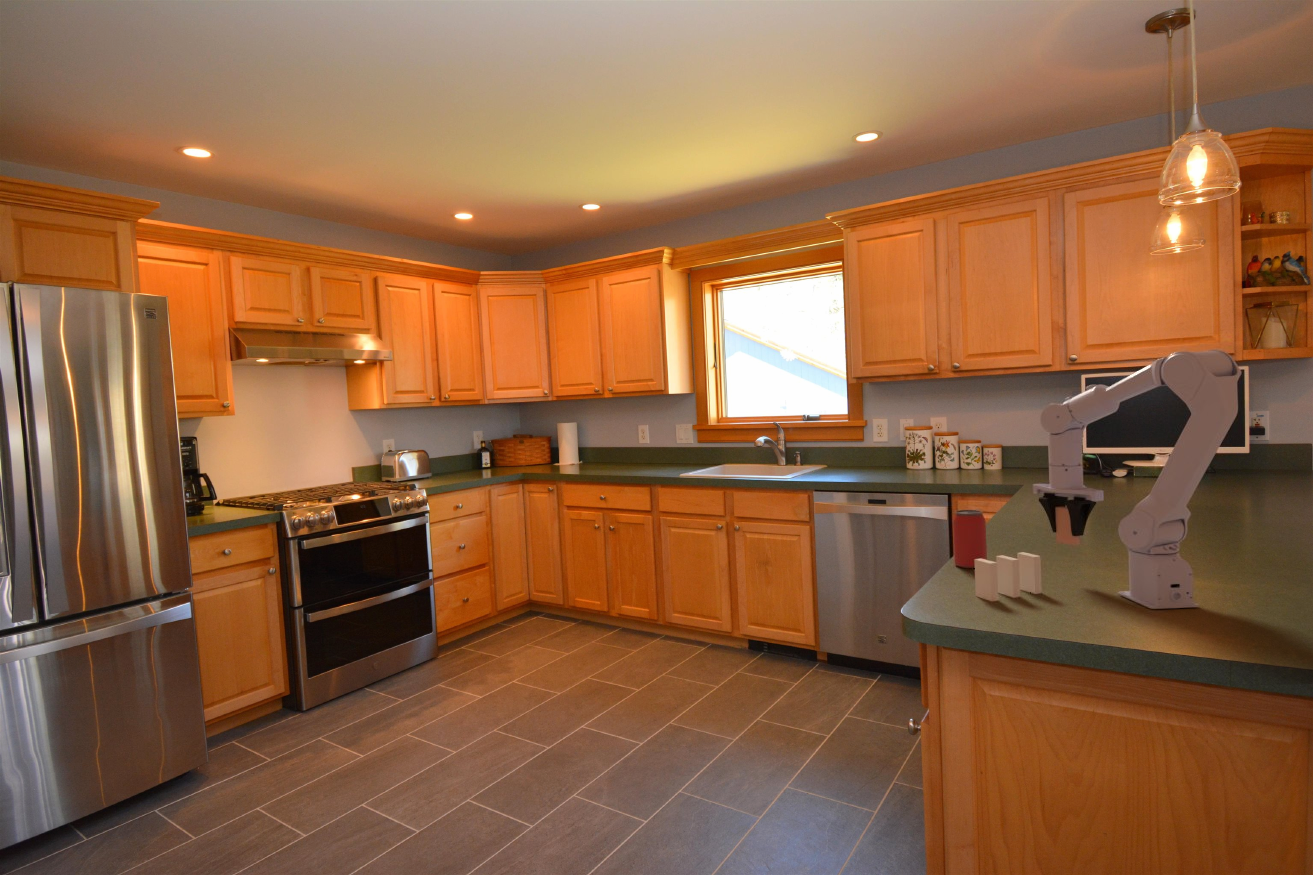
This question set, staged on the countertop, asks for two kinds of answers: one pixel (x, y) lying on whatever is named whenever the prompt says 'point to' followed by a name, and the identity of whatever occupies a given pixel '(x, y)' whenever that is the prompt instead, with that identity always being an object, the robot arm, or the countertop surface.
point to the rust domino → (1064, 528)
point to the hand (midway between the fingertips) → (1067, 533)
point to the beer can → (969, 537)
